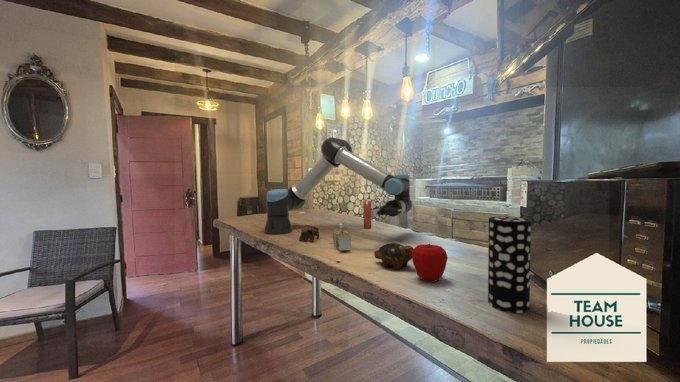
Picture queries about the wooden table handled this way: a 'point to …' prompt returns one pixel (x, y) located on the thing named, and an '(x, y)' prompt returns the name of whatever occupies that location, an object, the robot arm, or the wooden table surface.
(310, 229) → the brown animal figurine
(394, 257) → the decorative turtle
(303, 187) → the robot arm
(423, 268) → the apple
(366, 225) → the lever
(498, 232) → the spotted tube
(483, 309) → the wooden table surface
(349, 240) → the pipe valve
